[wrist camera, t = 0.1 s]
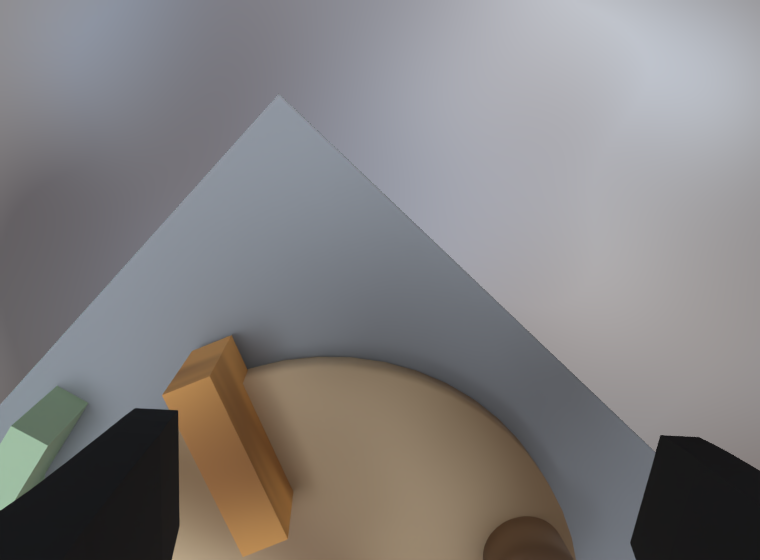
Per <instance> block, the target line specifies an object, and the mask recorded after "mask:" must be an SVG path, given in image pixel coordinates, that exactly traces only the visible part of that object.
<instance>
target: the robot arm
mask: <svg viewBox="0 0 760 560" xmlns="http://www.w3.org/2000/svg"><path fill="white" fill-rule="evenodd" d="M179 527H180V514H179V427H178V410H163V409H144V408H134V409H133V410H132V411H130V412H129V413H128V414H126V415H125V416H124V417H122V418H121V419H120V420H119V421H117V422H116V423H115V424H114V425H112V426H111V427H110V428H109V429H107V430H106V431H105V432H104V433H102V434H101V435H100V436H99V437H97V438H96V439H95V440H94V441H92V442H91V443H90V444H89V445H87V446H86V447H85V448H84V449H82V450H81V451H80V452H79V453H77V454H76V455H75V456H73V457H72V458H71V459H70V460H68V461H67V462H66V463H65V464H63V465H62V466H61V467H59V468H58V469H57V470H55V471H54V472H53V473H52V474H50V475H49V476H48V477H46V478H45V479H44V480H42V481H41V482H40V483H38V484H37V485H36V486H35V487H33V488H32V489H31V490H29V491H28V492H26V493H25V494H23V495H22V496H21V497H19V498H18V499H16V500H15V501H13V502H12V503H11V504H9V505H8V506H6V507H5V508H3V509H2V510H0V560H172V556H173V552H174V548H175V544H176V539H177V535H178V531H179ZM630 544H631V547H632V550H633V553H634V556H635V559H636V560H760V471H759V470H758V469H756V468H754V467H753V466H751V465H749V464H747V463H746V462H744V461H742V460H740V459H739V458H737V457H735V456H734V455H732V454H730V453H728V452H727V451H725V450H723V449H721V448H719V447H717V446H715V445H714V444H712V443H709V442H708V441H706V440H703V439H701V438H699V437H683V436H664V435H661V436H660V439H659V443H658V446H657V449H656V453H655V457H654V460H653V464H652V467H651V471H650V474H649V478H648V481H647V485H646V488H645V492H644V495H643V499H642V502H641V506H640V509H639V513H638V517H637V520H636V524H635V527H634V531H633V534H632V538H631V541H630Z"/></svg>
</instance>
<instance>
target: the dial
mask: <svg viewBox="0 0 760 560" xmlns="http://www.w3.org/2000/svg"><path fill="white" fill-rule="evenodd" d="M162 397H163V399H164V401H165V403H166V405H167V407H168V409H169V410H178V427H179V514H180V527H179V531H178V535H177V539H176V544H175V548H174V552H173V556H172V560H576V558H575V552H574V547H573V541H572V537H571V534H570V531H569V528H568V525H567V522H566V520H565V517H564V514H563V511H562V509H561V507H560V505H559V503H558V501H557V499H556V497H555V495H554V493H553V491H552V489H551V487H550V485H549V484H548V482H547V480H546V479H545V477H544V476H543V474H542V472H541V471H540V469H539V468H538V466H537V465H536V463H535V462H534V460H533V459H532V458H531V456H530V455H529V453H528V452H527V451H526V449H525V448H524V446H523V445H522V444H521V442H520V441H519V440H518V439H517V438H516V436H515V435H514V434H513V433H512V432H511V431H510V430H509V429H508V428H507V427H506V426H505V425H504V424H503V423H502V422H501V421H500V420H499V419H498V418H497V417H496V416H494V415H493V414H492V413H491V412H489V411H488V410H487V409H486V408H484V407H483V406H482V405H480V404H479V403H478V402H477V401H475V400H474V399H472V398H471V397H469V396H467V395H466V394H464V393H462V392H461V391H459V390H457V389H455V388H454V387H452V386H450V385H449V384H447V383H445V382H442V381H440V380H438V379H435V378H433V377H430V376H428V375H426V374H423V373H421V372H419V371H416V370H412V369H409V368H405V367H401V366H398V365H394V364H390V363H387V362H382V361H375V360H368V359H361V358H354V357H310V358H301V359H291V360H283V361H279V362H275V363H270V364H266V365H262V366H258V367H254V368H250V369H247V367H246V365H245V363H244V361H243V359H242V357H241V354H240V352H239V350H238V348H237V346H236V344H235V342H234V339H233V337H232V335H231V336H228V337H226V338H223V339H221V340H218V341H216V342H213V343H211V344H208V345H206V346H203V347H201V348H198V349H196V350H193V351H192V352H191V353H190V355H189V356H188V358H187V359H186V361H185V362H184V364H183V365H182V367H181V368H180V370H179V371H178V372H177V374H176V375H175V377H174V378H173V380H172V381H171V383H170V384H169V386H168V387H167V389H166V390H165V392H164V393H163V394H162Z"/></svg>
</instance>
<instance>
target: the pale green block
mask: <svg viewBox="0 0 760 560" xmlns="http://www.w3.org/2000/svg"><path fill="white" fill-rule="evenodd" d="M87 405H88V402H86V401H84V400H82V399H80V398H79V397H77V396H75V395H73V394H71V393H70V392H68V391H66V390H64V389H62V388H60V387H59V386H56V387H55V388H54V389H53V390H51V391H50V392H49V393H48V394H47V395H46V396H45V397H43V398H42V399H41V400H40V401H39V402H38V403H37V404H35V405H34V406H33V407H32V408H31V409H30V410H29V411H27V412H26V413H25V414H24V415H23V416H22V417H21V418H19V419H18V420H17V421H16V422H15V423H14V424H13V425H11V427H10V428H9V430H8V432H7V433H6V435H5V437H4V438H3V440H2V442H1V443H0V510H2V509H3V508H5V507H6V506H8V505H9V504H11V503H12V502H13V501H15V500H16V499H18V498H19V497H21V496H22V495H23V494H25V493H26V492H28V491H29V490H31V489H32V488H33V487H35V486H36V485H37V484H38V483H40V482H41V481H42V480H44V478H45V474H46V471H47V470H48V468H49V466H50V465H51V463H52V461H53V460H54V458H55V457H56V455H57V453H58V452H59V450H60V448H61V447H62V445H63V444H64V442H65V440H66V439H67V437H68V435H69V434H70V432H71V431H72V429H73V427H74V426H75V424H76V422H77V421H78V419H79V418H80V416H81V414H82V413H83V411H84V409H85V408H86V406H87Z"/></svg>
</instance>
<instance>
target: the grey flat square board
mask: <svg viewBox="0 0 760 560" xmlns="http://www.w3.org/2000/svg"><path fill="white" fill-rule="evenodd" d="M231 335H232V337H233V339H234V342H235V344H236V346H237V348H238V350H239V352H240V354H241V357H242V359H243V361H244V363H245V365H246V367H247V369H250V368H254V367H258V366H262V365H266V364H270V363H275V362H279V361H283V360H291V359H301V358H310V357H354V358H361V359H368V360H375V361H382V362H387V363H390V364H394V365H398V366H401V367H405V368H409V369H412V370H416V371H419V372H421V373H423V374H426V375H428V376H430V377H433V378H435V379H438V380H440V381H442V382H445V383H447V384H449V385H450V386H452V387H454V388H455V389H457V390H459V391H461V392H462V393H464V394H466V395H467V396H469V397H471V398H472V399H474V400H475V401H477V402H478V403H479V404H480V405H482V406H483V407H484V408H486V409H487V410H488V411H489V412H491V413H492V414H493V415H494V416H496V417H497V418H498V419H499V420H500V421H501V422H502V423H503V424H504V425H505V426H506V427H507V428H508V429H509V430H510V431H511V432H512V433H513V434H514V435H515V436H516V438H517V439H518V440H519V441H520V442H521V444H522V445H523V446H524V448H525V449H526V451H527V452H528V453H529V455H530V456H531V458H532V459H533V460H534V462H535V463H536V465H537V466H538V468H539V469H540V471H541V472H542V474H543V476H544V477H545V479H546V480H547V482H548V484H549V485H550V487H551V489H552V491H553V493H554V495H555V497H556V499H557V501H558V503H559V505H560V507H561V509H562V511H563V514H564V517H565V520H566V522H567V525H568V528H569V531H570V534H571V537H572V541H573V547H574V552H575V558H576V560H636V559H635V556H634V553H633V550H632V547H631V544H630V541H631V538H632V534H633V531H634V527H635V524H636V520H637V517H638V513H639V509H640V506H641V502H642V499H643V495H644V492H645V488H646V485H647V481H648V478H649V474H650V471H651V467H652V464H653V460H654V457H655V453H656V452H654V451H653V450H652V449H651V448H650V447H649V446H648V445H647V444H646V443H645V442H644V441H643V440H642V439H641V438H640V437H639V436H638V435H637V434H636V433H635V432H633V431H632V430H631V429H630V428H629V427H628V426H627V425H626V424H625V423H624V422H623V421H622V420H621V419H620V418H619V417H618V416H617V415H616V414H615V413H614V412H612V411H611V410H610V409H609V408H608V407H607V406H606V405H605V404H604V403H603V402H602V401H601V400H600V399H599V398H598V397H597V396H596V395H595V394H594V393H593V392H591V391H590V390H589V389H588V388H587V387H586V386H585V385H584V384H583V383H582V382H581V381H580V380H579V379H578V378H577V377H576V376H575V375H574V374H573V373H571V372H570V371H569V370H568V369H567V368H566V367H565V366H564V365H563V364H562V363H561V362H560V361H559V360H558V359H557V358H556V357H555V356H554V355H553V354H551V353H550V352H549V351H548V350H547V349H546V348H545V347H544V346H543V345H542V344H541V343H540V342H539V341H538V340H537V339H536V338H535V337H534V336H533V335H531V333H529V332H528V331H527V330H526V329H525V328H524V327H523V326H522V325H521V324H520V323H519V322H518V321H517V320H516V319H515V318H514V317H513V316H512V315H511V314H509V313H508V312H507V311H506V310H505V309H504V308H503V307H502V306H501V305H500V304H499V303H498V302H497V301H496V300H495V299H494V298H493V297H492V296H490V294H489V293H487V292H486V291H485V290H484V289H483V288H482V287H481V286H480V285H479V284H478V283H477V282H476V281H475V280H474V279H473V278H472V277H470V275H469V274H467V273H466V272H465V271H464V270H463V269H462V268H461V267H460V266H459V265H458V264H457V263H456V262H455V261H454V260H453V259H452V258H451V257H450V256H449V255H447V254H446V253H445V252H444V251H443V250H442V249H441V248H440V247H439V246H438V245H437V244H436V243H435V242H434V241H433V240H432V239H431V238H430V237H429V236H427V235H426V234H425V233H424V232H423V231H422V230H421V229H420V228H419V227H418V226H417V225H416V224H415V223H414V222H413V221H412V220H411V219H410V218H409V217H408V216H407V215H405V214H404V213H403V212H402V211H401V210H400V209H399V208H398V207H397V206H396V205H395V204H394V203H393V202H392V201H391V200H390V199H389V198H388V197H387V196H386V195H385V194H383V193H382V192H381V191H380V190H379V189H378V188H377V187H376V186H375V185H374V184H373V183H372V182H371V181H370V180H369V179H368V178H367V177H366V176H365V175H363V174H362V173H361V172H360V171H359V170H358V169H357V168H356V167H355V166H354V165H353V164H352V163H351V162H350V161H349V160H348V159H347V158H346V157H345V156H343V155H342V154H341V153H340V152H339V151H338V150H337V149H336V148H335V147H334V146H333V145H332V144H331V143H330V142H329V141H328V140H327V139H326V138H325V137H324V136H323V135H321V134H320V133H319V132H318V131H317V130H316V129H315V128H314V127H313V126H312V125H311V124H310V123H309V122H308V121H307V120H306V119H305V118H304V117H302V116H301V115H300V114H299V113H298V112H297V111H296V110H295V109H294V108H293V107H292V106H291V105H290V104H289V103H288V102H287V101H286V100H285V99H283V97H282V96H280V95H278V96H277V97H276V98H275V99H274V100H273V101H272V102H271V104H270V105H269V106H268V107H267V108H266V109H265V110H264V111H263V112H262V113H261V115H260V116H259V117H258V118H257V119H256V120H255V121H254V122H253V124H252V125H251V126H250V127H249V128H248V129H247V130H246V132H244V134H243V135H242V136H241V137H240V138H239V139H238V140H237V141H236V142H235V144H234V145H233V146H232V147H231V148H230V149H229V150H228V151H227V152H226V154H225V155H224V156H223V157H222V158H221V159H220V160H219V161H218V163H217V164H216V165H215V166H214V167H213V168H212V169H211V170H210V171H209V173H208V174H207V175H206V176H205V177H204V178H203V179H202V181H200V183H199V184H198V185H197V186H196V187H195V188H194V189H193V190H192V191H191V193H190V194H189V195H188V196H187V197H186V198H185V199H184V200H183V202H182V203H181V204H180V205H179V206H178V207H177V208H176V209H175V210H174V212H173V213H172V214H171V215H170V216H169V217H168V218H167V219H166V221H165V222H164V223H163V224H162V225H161V226H160V227H159V228H158V229H157V230H156V232H155V233H154V234H153V235H152V236H151V237H150V238H149V239H148V241H147V242H146V243H145V244H144V245H143V246H142V247H141V248H140V249H139V251H138V252H137V253H136V254H135V255H134V256H133V257H132V258H131V260H130V261H129V262H128V263H127V264H126V265H125V266H124V267H123V268H122V270H121V271H120V272H119V273H118V274H117V275H116V276H115V277H114V279H113V280H112V281H111V282H110V283H109V284H108V285H107V286H106V287H105V289H104V290H103V291H102V292H101V293H100V294H99V295H98V296H97V297H96V299H95V300H94V301H93V302H92V303H91V304H90V305H89V306H88V307H87V309H86V310H85V311H84V312H83V313H82V314H81V315H80V316H79V317H78V319H77V320H76V321H75V322H74V323H73V324H72V325H71V326H70V327H69V329H68V330H67V331H66V332H65V333H64V334H63V335H62V336H61V338H60V339H59V340H58V341H57V342H56V343H55V344H54V345H53V346H52V348H51V349H50V350H49V351H48V352H47V353H46V354H45V355H44V356H43V358H42V359H41V360H40V361H39V362H38V363H37V364H36V365H35V366H34V368H33V369H32V370H31V371H30V372H29V373H28V374H27V375H26V377H25V378H24V379H23V380H22V381H21V382H20V383H19V384H18V385H17V387H16V388H15V389H14V390H13V391H12V392H11V393H10V394H9V396H8V397H7V398H6V399H5V400H4V401H3V402H2V403H1V405H0V443H1V442H2V440H3V438H4V437H5V435H6V433H7V432H8V430H9V428H10V427H11V425H13V424H14V423H15V422H16V421H17V420H18V419H19V418H21V417H22V416H23V415H24V414H25V413H26V412H27V411H29V410H30V409H31V408H32V407H33V406H34V405H35V404H37V403H38V402H39V401H40V400H41V399H42V398H43V397H45V396H46V395H47V394H48V393H49V392H50V391H51V390H53V389H54V388H55V387H56V386H59V387H60V388H62V389H64V390H66V391H68V392H70V393H71V394H73V395H75V396H77V397H79V398H80V399H82V400H84V401H86V402H88V405H87V406H86V408H85V409H84V411H83V413H82V414H81V416H80V418H79V419H78V421H77V422H76V424H75V426H74V427H73V429H72V431H71V432H70V434H69V435H68V437H67V439H66V440H65V442H64V444H63V445H62V447H61V448H60V450H59V452H58V453H57V455H56V457H55V458H54V460H53V461H52V463H51V465H50V466H49V468H48V470H47V471H46V474H45V478H46V477H48V476H49V475H50V474H52V473H53V472H54V471H55V470H57V469H58V468H59V467H61V466H62V465H63V464H65V463H66V462H67V461H68V460H70V459H71V458H72V457H73V456H75V455H76V454H77V453H79V452H80V451H81V450H82V449H84V448H85V447H86V446H87V445H89V444H90V443H91V442H92V441H94V440H95V439H96V438H97V437H99V436H100V435H101V434H102V433H104V432H105V431H106V430H107V429H109V428H110V427H111V426H112V425H114V424H115V423H116V422H117V421H119V420H120V419H121V418H122V417H124V416H125V415H126V414H128V413H129V412H130V411H132V410H133V409H134V408H144V409H163V410H169V409H168V407H167V405H166V403H165V401H164V399H163V397H162V394H163V393H164V392H165V390H166V389H167V387H168V386H169V384H170V383H171V381H172V380H173V378H174V377H175V375H176V374H177V372H178V371H179V370H180V368H181V367H182V365H183V364H184V362H185V361H186V359H187V358H188V356H189V355H190V353H191V352H192V351H193V350H196V349H198V348H201V347H203V346H206V345H208V344H211V343H213V342H216V341H218V340H221V339H223V338H226V337H228V336H231ZM45 478H44V479H45Z"/></svg>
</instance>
